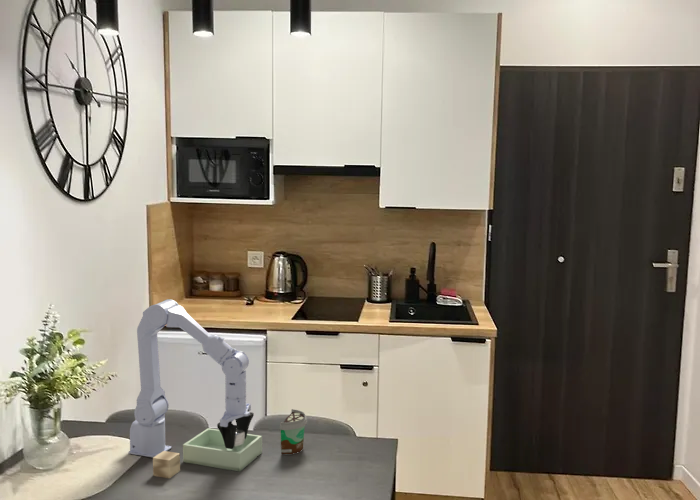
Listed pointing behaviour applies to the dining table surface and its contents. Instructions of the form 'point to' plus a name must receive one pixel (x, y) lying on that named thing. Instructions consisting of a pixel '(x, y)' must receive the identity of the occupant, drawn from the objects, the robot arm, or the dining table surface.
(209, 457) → the tote
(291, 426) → the food container
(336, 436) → the dining table surface
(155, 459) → the cube
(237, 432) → the cylinder
